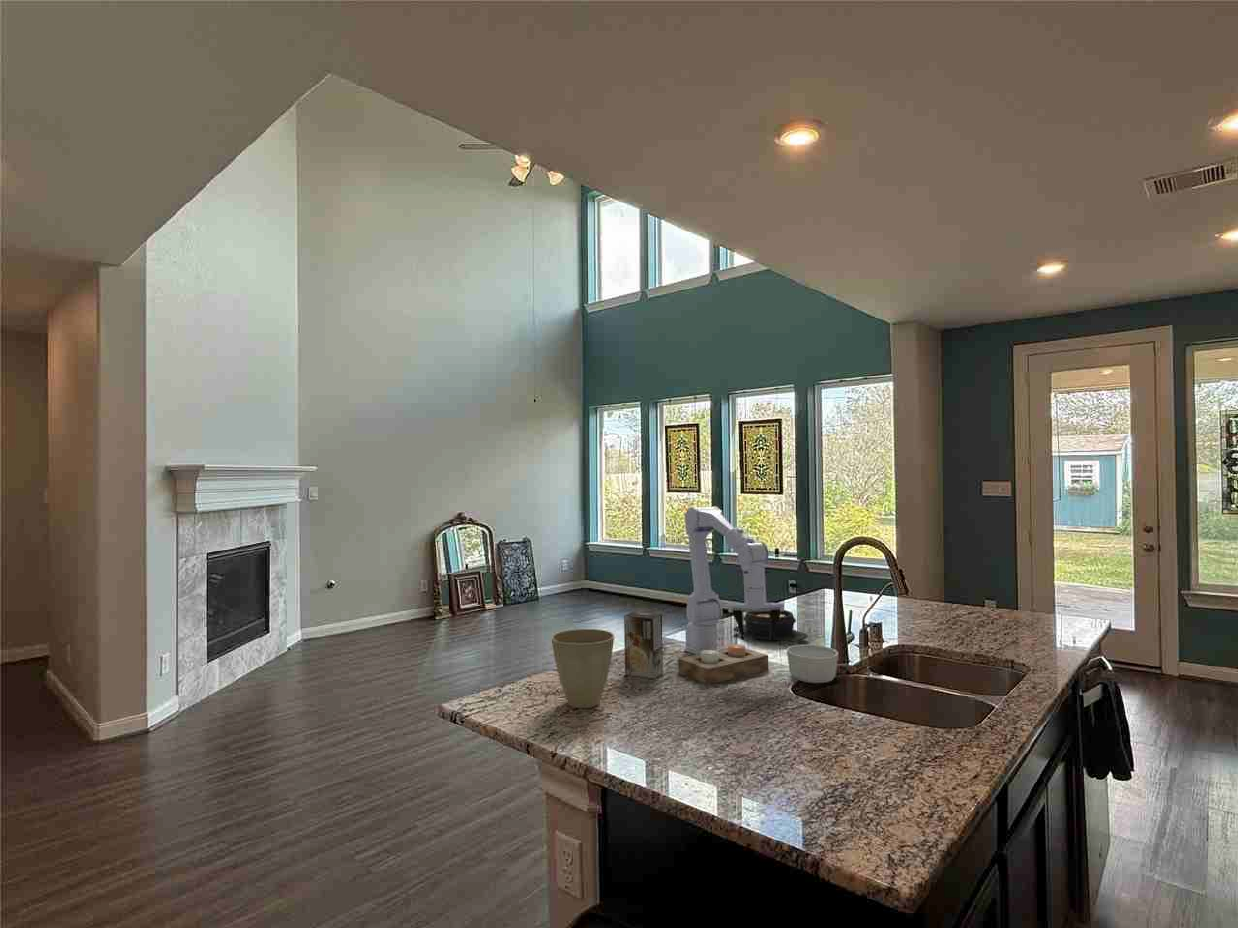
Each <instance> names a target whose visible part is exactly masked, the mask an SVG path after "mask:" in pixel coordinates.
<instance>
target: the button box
mask: <svg viewBox="0 0 1238 928" xmlns="http://www.w3.org/2000/svg"><path fill="white" fill-rule="evenodd" d="M715 651H718V652H719V662H717V663H713V664H707V663H704V662H701V654H696V655H695V654H693V655H688V656H682V657H678V659H677V660H678V674H680V675H682V676H685V677H688V678H691V680H692V679H693V680H695V681H698V682H701V683H702V684H706V685H713V684H716V683H721V682H725V681H728V680H729V681H730V680H733V679H737V678H740V677H741V678H742V677H744V676H748V675H752V674H753V675H754V674H758V673H760V672H764V671H769V655H768V654H766V653H762V652H759V651H756V650H752V649H749V648H746V656H744V657H739V658H735V657H732V656H729V655H728V647H726V648H720V649H717V650H715Z"/></svg>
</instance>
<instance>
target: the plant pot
mask: <svg viewBox="0 0 1238 928" xmlns="http://www.w3.org/2000/svg"><path fill="white" fill-rule="evenodd" d="M550 638H551V644H552V645H551V646H552V650H553V655H554V661H555V666H556V670H557V674H558V678H559V681H560V685H561V688H562V690H563V693H564V696H565V698H566V702H567V703H568V706H570V707H572V708H577V709H589V708H590V709H591V708H593V707H597V706H598V705H599V704H600V702H601V700H602V696H603V693H604V690H605V687H606V684H607V681H608V680H607V679H608V677H609V672H610V667H611V664H612V663H611V661H612V655H613V649H614V642H615V641H614V640H615V634H614V633H612V632H611V631H608V630H605V629H595V628H577V629H576V628H575V629H569V630H563V631H559V632H557V633H554V634H553V635H551V637H550Z"/></svg>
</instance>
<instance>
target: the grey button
mask: <svg viewBox="0 0 1238 928" xmlns="http://www.w3.org/2000/svg"><path fill="white" fill-rule="evenodd" d="M701 662H704V663H707V664H713V663H717V662H719V652H718V651H715V650H703V651H701Z"/></svg>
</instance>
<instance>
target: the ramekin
mask: <svg viewBox="0 0 1238 928" xmlns="http://www.w3.org/2000/svg"><path fill="white" fill-rule="evenodd" d="M786 655H787V661H788V670H789V673H790V675H791V676H792V677H793V678H794V679H795V680H798V681H800V682H803V683H804V682H805V683H811V684H821V683H822V684H824V683H829V682H832V681H833V680H834V679H835V677H836V673H837V665H838V660H839V652H838V651H837V650H836V649H834V648H831V647H828V646H823V645H818V644H796V645H791V646H788V647H787V648H786Z"/></svg>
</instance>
